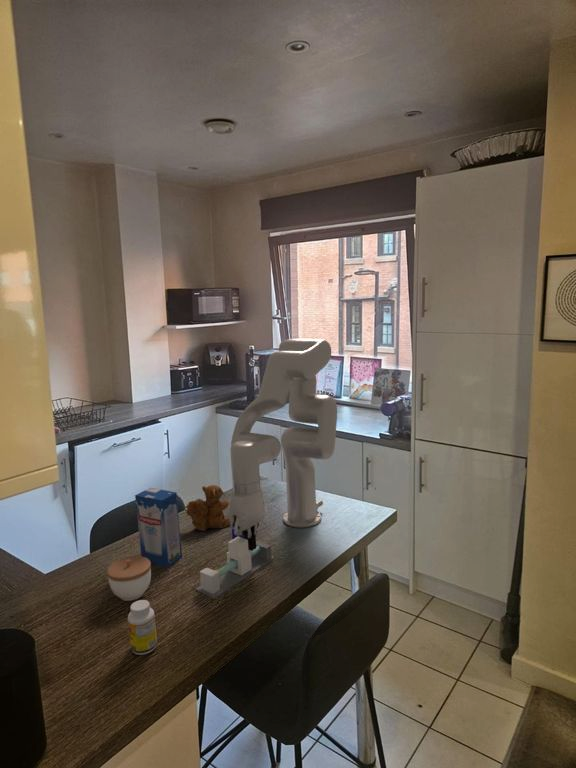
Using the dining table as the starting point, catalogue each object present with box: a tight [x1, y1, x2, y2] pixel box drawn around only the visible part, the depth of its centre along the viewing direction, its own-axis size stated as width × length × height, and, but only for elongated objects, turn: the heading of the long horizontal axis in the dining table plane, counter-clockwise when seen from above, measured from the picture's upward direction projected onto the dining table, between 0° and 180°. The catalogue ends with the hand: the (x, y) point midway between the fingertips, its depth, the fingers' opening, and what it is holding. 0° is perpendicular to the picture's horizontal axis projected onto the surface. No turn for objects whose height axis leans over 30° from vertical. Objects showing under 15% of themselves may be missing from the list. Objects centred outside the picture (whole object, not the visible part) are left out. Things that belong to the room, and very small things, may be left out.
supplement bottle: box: [127, 599, 158, 656], centre depth 112 cm, size 6×6×10 cm
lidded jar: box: [106, 555, 152, 602], centre depth 133 cm, size 11×11×9 cm
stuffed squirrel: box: [184, 484, 230, 532], centre depth 170 cm, size 10×14×13 cm
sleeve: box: [226, 537, 252, 576], centre depth 141 cm, size 4×5×8 cm
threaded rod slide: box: [194, 539, 276, 600], centre depth 140 cm, size 24×7×5 cm, turn 142°
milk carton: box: [134, 487, 183, 568], centre depth 149 cm, size 10×6×20 cm, turn 62°
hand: (250, 548), depth 144 cm, fingers closed
